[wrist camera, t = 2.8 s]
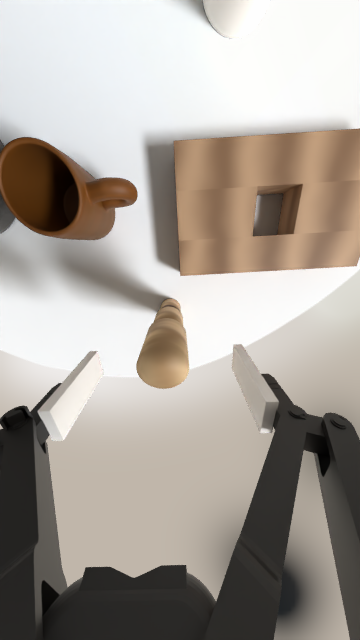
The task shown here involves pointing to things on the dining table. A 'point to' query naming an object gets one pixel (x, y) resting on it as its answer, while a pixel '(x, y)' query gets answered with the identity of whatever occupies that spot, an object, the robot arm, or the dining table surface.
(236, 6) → the cylindrical container
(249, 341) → the dining table surface
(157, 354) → the oak peg
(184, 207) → the seat board
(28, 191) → the mug
